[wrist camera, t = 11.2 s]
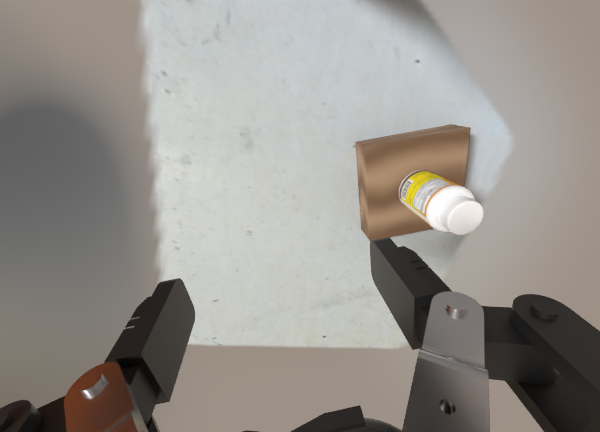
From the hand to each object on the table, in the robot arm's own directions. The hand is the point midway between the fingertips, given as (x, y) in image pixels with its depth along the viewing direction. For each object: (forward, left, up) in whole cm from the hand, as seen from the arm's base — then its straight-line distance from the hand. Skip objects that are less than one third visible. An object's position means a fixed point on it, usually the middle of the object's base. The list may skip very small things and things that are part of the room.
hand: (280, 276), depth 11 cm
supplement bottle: (+8, +19, -24) cm, 32 cm away
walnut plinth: (+8, +19, -28) cm, 35 cm away
